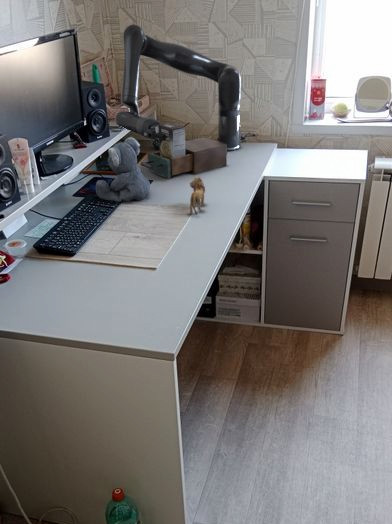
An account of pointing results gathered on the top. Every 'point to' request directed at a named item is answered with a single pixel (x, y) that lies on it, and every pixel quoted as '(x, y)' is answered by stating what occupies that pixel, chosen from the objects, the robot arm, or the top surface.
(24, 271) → the top surface
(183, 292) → the top surface
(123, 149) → the koala plush
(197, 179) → the lion figurine
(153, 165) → the drawer
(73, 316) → the top surface
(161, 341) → the top surface
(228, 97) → the robot arm
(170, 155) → the coffee box
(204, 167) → the cabinet
